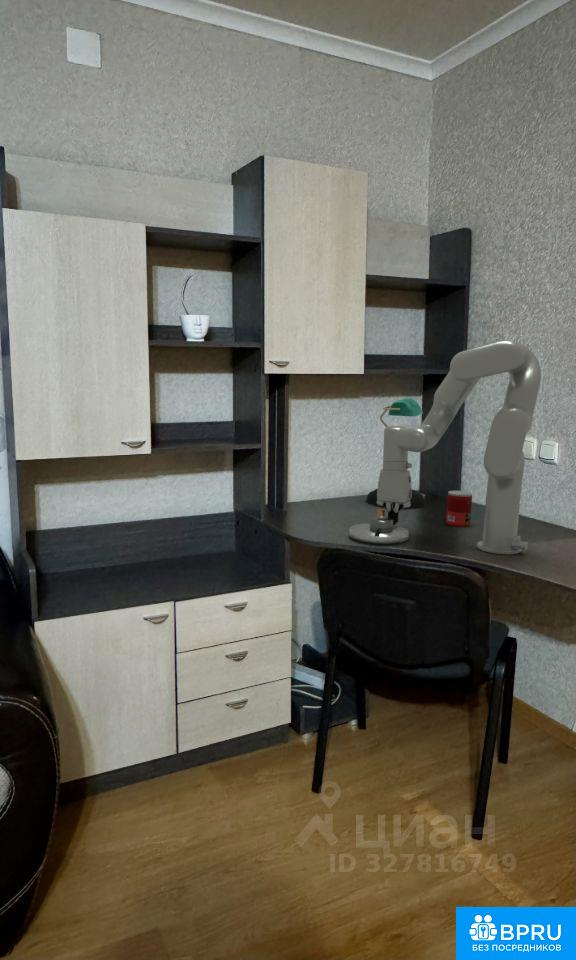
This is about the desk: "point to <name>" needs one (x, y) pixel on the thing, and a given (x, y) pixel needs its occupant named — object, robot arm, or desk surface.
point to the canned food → (459, 508)
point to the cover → (381, 524)
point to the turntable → (366, 535)
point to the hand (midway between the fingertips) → (392, 523)
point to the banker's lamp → (397, 409)
